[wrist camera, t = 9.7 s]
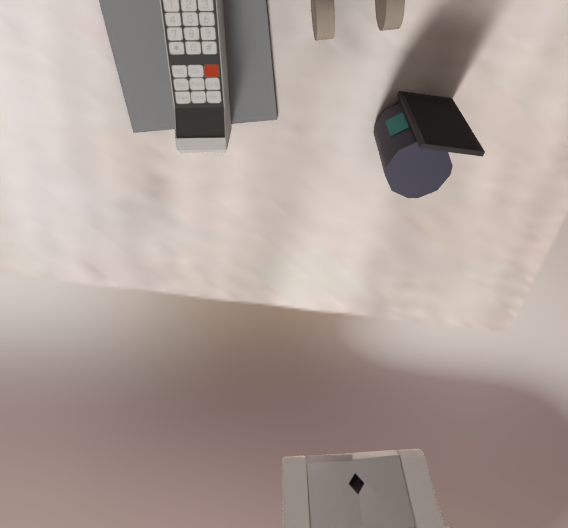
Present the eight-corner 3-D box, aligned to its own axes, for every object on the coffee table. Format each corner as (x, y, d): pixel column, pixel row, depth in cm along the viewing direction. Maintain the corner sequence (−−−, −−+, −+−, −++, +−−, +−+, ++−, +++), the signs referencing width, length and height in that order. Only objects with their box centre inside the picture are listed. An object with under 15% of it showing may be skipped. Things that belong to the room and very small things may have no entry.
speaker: (405, 70, 38) (433, 115, 32) (453, 99, 40) (489, 148, 33) (359, 137, 42) (375, 191, 35) (404, 161, 44) (428, 218, 37)
